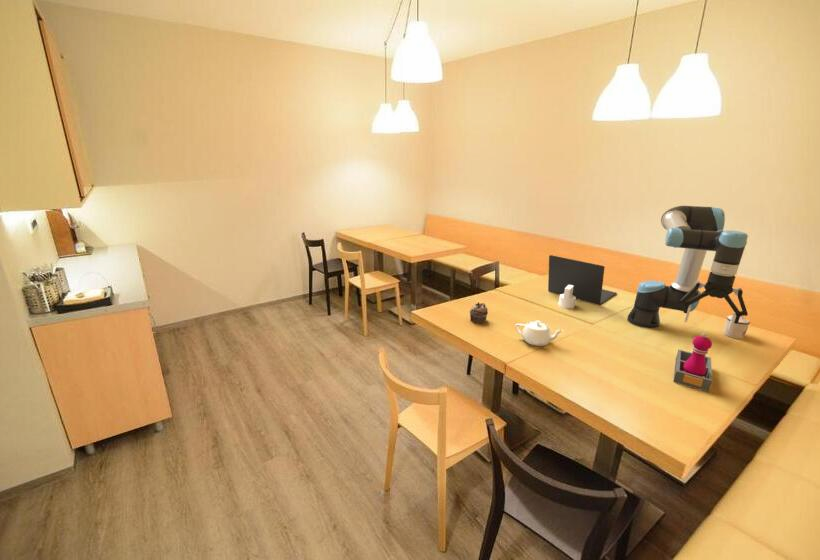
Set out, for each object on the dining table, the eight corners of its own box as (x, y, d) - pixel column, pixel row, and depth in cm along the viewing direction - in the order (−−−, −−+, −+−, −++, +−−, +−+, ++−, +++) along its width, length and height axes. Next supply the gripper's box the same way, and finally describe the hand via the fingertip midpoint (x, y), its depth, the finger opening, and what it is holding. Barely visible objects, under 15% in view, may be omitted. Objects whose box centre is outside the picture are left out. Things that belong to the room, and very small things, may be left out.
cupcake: (485, 316, 209) (487, 300, 206) (487, 324, 200) (489, 307, 197) (468, 315, 210) (469, 299, 207) (469, 323, 201) (470, 306, 197)
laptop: (616, 294, 248) (624, 255, 239) (596, 308, 224) (604, 266, 216) (567, 282, 270) (572, 246, 262) (543, 293, 247) (549, 254, 238)
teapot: (511, 342, 181) (513, 322, 177) (516, 331, 193) (518, 312, 189) (559, 353, 172) (563, 332, 169) (562, 340, 184) (565, 320, 180)
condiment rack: (673, 382, 151) (676, 371, 150) (675, 359, 169) (678, 349, 167) (708, 392, 145) (712, 381, 143) (707, 367, 162) (710, 357, 161)
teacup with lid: (746, 341, 187) (754, 319, 183) (723, 336, 191) (730, 315, 187) (741, 331, 197) (748, 311, 193) (719, 327, 201) (725, 307, 197)
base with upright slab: (560, 301, 233) (563, 283, 229) (575, 305, 228) (579, 286, 224) (556, 306, 226) (559, 287, 222) (572, 309, 221) (575, 290, 217)
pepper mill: (676, 372, 156) (688, 329, 149) (693, 372, 156) (706, 328, 149) (690, 383, 149) (703, 338, 142) (707, 382, 149) (721, 337, 143)
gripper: (681, 269, 142) (668, 320, 149) (769, 283, 129) (750, 338, 136) (682, 264, 148) (669, 314, 155) (766, 277, 134) (748, 330, 141)
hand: (707, 325), depth 145 cm, fingers open, 13 cm apart
